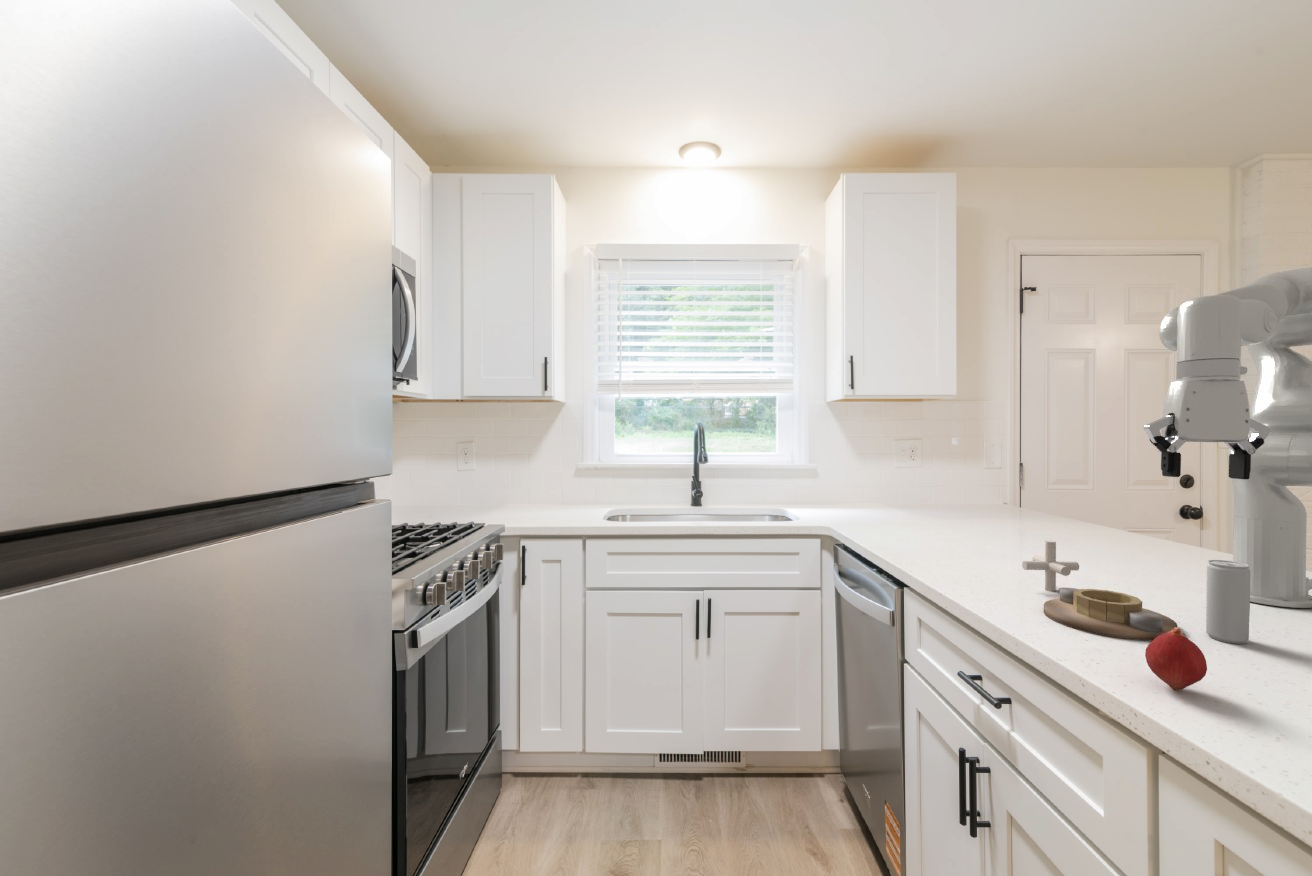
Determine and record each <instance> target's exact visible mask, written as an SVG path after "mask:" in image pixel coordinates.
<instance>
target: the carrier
mask: <svg viewBox="0 0 1312 876" xmlns="http://www.w3.org/2000/svg"><path fill="white" fill-rule="evenodd" d="M1043 613H1044V615H1045V616H1046V617H1047V618H1048V619H1049V620H1052V621H1053V622H1056V623H1058V624H1060V625H1063V626H1065V625H1066V627H1068V626H1069V628H1071V627H1072V629H1074V630H1075V629H1076V630H1078V629H1079V631H1082V632H1086V633H1090V634H1096V635H1100V636H1106V637H1111V638H1118V639H1123V640H1124V639H1125V640H1134V639H1137V641H1153V640H1154V639H1155V638H1156V637H1158V636H1159V635H1161V634H1164V633H1167V632H1169V631H1171V630H1173V629H1174V628H1178V623H1177V622H1176V621H1175V620H1173V619H1172V618H1171V617H1168V616H1166V615H1164V614H1162V613H1159V612H1156V611H1153V610H1149V609H1147V608H1143V600H1141V599H1140V598H1139V597H1137V596H1133V595H1131V594H1127V593H1123V592H1119V591H1113V590H1107V589H1098V588H1097V589H1096V588H1081V589H1080V588H1075V587H1060V588H1059V597H1058V598H1052V599H1049V600H1046V601H1045V602H1044V603H1043ZM1138 639H1140V640H1138Z"/></svg>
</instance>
